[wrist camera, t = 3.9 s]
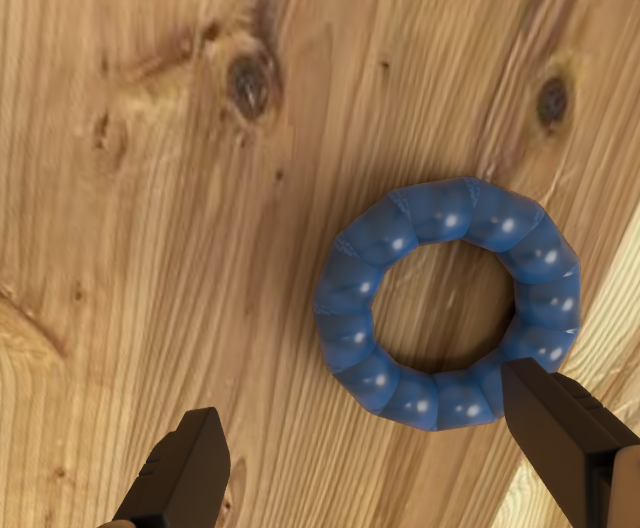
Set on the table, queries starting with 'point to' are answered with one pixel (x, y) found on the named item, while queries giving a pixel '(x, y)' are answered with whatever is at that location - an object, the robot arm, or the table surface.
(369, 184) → the table surface
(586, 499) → the robot arm
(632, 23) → the table surface
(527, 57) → the table surface
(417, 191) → the blue segmented ring
